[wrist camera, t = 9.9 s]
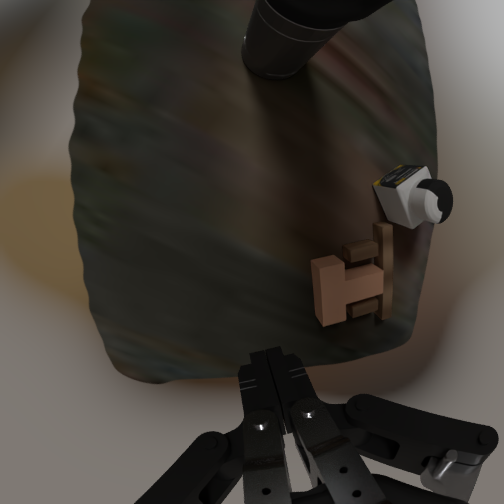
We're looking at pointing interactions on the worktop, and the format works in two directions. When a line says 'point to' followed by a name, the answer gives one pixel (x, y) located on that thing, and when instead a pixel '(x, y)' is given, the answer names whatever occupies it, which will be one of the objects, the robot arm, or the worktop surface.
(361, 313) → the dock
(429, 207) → the medicine bottle
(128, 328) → the worktop surface
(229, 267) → the worktop surface
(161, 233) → the worktop surface
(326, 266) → the T block
